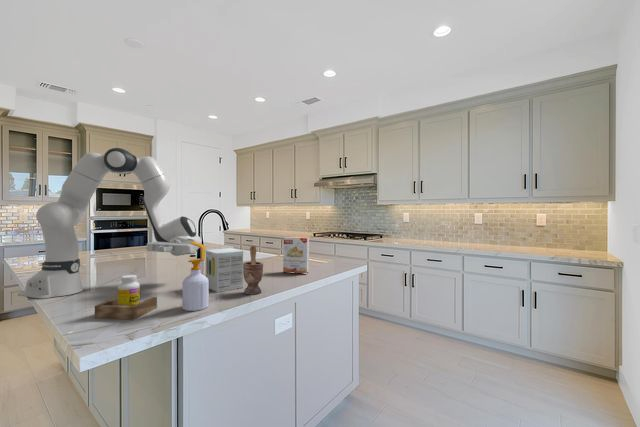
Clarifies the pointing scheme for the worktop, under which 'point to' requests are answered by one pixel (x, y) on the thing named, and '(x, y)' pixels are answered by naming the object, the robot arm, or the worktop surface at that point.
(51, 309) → the worktop surface
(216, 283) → the supplement box
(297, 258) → the cracker box
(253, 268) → the mortar and pestle
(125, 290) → the supplement bottle
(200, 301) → the soap bottle
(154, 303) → the corral
